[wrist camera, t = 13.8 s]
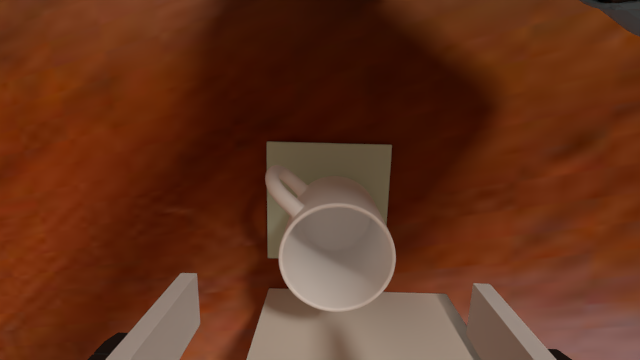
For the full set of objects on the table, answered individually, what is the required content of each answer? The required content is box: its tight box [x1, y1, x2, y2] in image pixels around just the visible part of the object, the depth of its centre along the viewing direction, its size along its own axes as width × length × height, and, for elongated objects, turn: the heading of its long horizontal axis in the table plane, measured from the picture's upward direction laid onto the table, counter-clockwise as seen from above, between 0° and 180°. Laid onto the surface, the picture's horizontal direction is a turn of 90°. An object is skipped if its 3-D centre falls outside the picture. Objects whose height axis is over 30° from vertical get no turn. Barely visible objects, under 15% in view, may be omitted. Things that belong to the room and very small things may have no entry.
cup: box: [265, 165, 396, 312], centre depth 28 cm, size 8×12×10 cm
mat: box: [267, 141, 392, 258], centre depth 33 cm, size 12×12×1 cm
